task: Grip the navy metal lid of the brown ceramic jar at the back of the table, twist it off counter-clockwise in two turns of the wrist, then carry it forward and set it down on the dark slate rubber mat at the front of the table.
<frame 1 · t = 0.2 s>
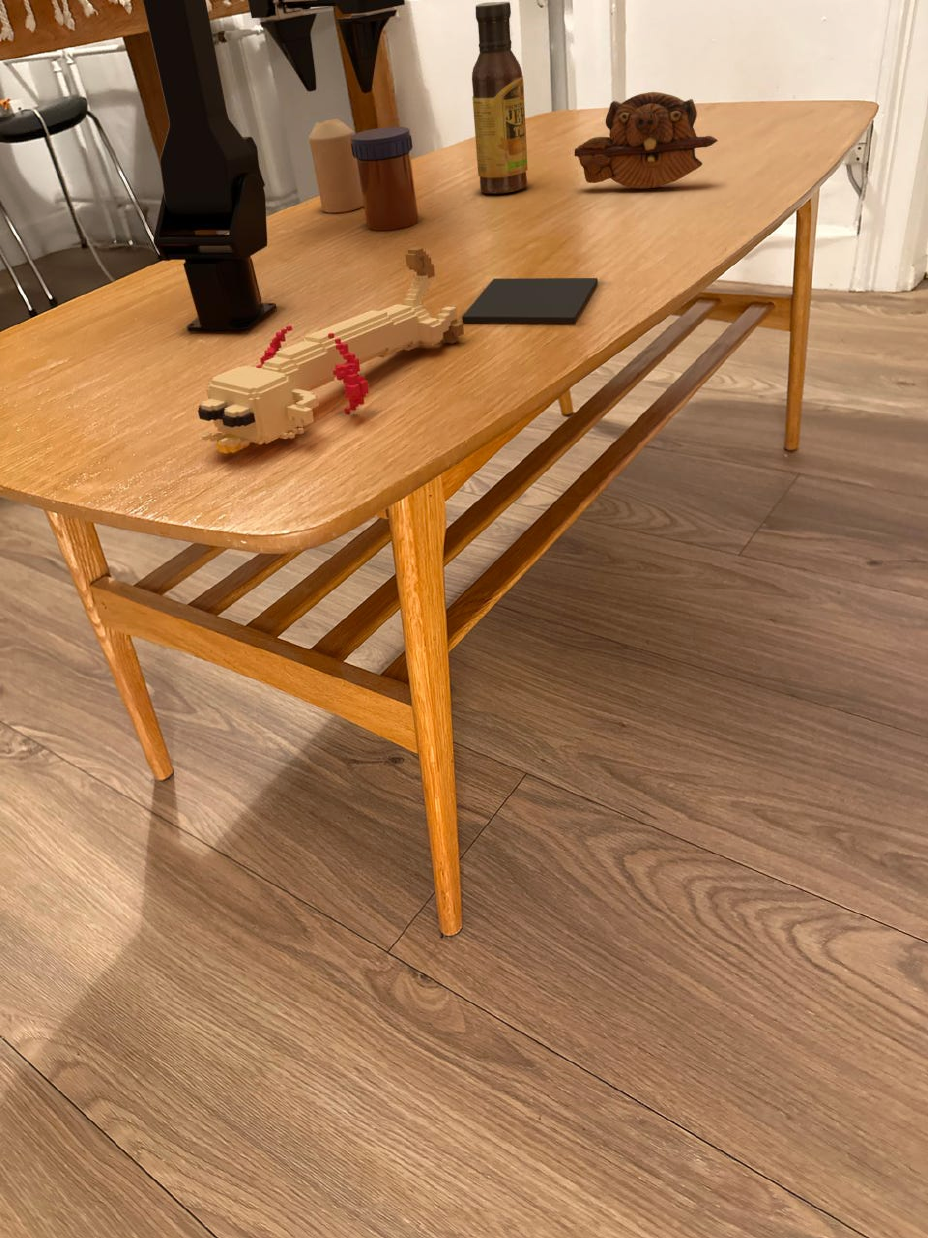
hand: (338, 91, 100), 14 cm above the table, tool pointing down, fingers open, 9 cm apart
lid: (380, 137, 104), point 9 cm above the table, screwed on, not yet turned
mat: (531, 303, 82), on the table
candle: (343, 208, 118), on the table
sauce bottle: (504, 191, 117), on the table
voxel animal figurine: (341, 396, 71), on the table
wooden carving: (644, 190, 110), on the table
jar: (392, 223, 109), on the table
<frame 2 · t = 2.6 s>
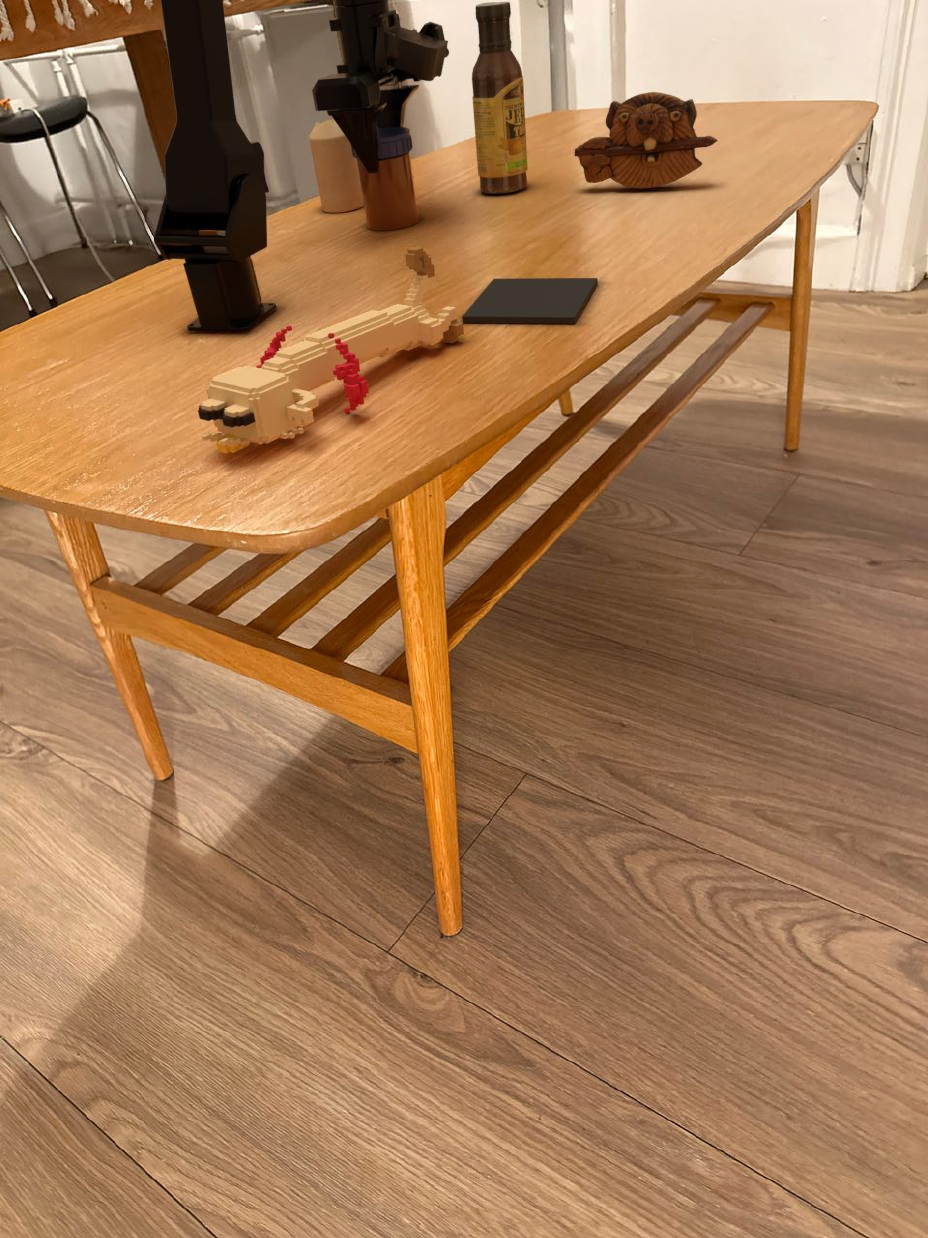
hand: (384, 165, 105), 6 cm above the table, tool pointing down, fingers closed on lid, 6 cm apart
lid: (380, 137, 104), point 9 cm above the table, screwed on, not yet turned, touching gripper
everything else where it was.
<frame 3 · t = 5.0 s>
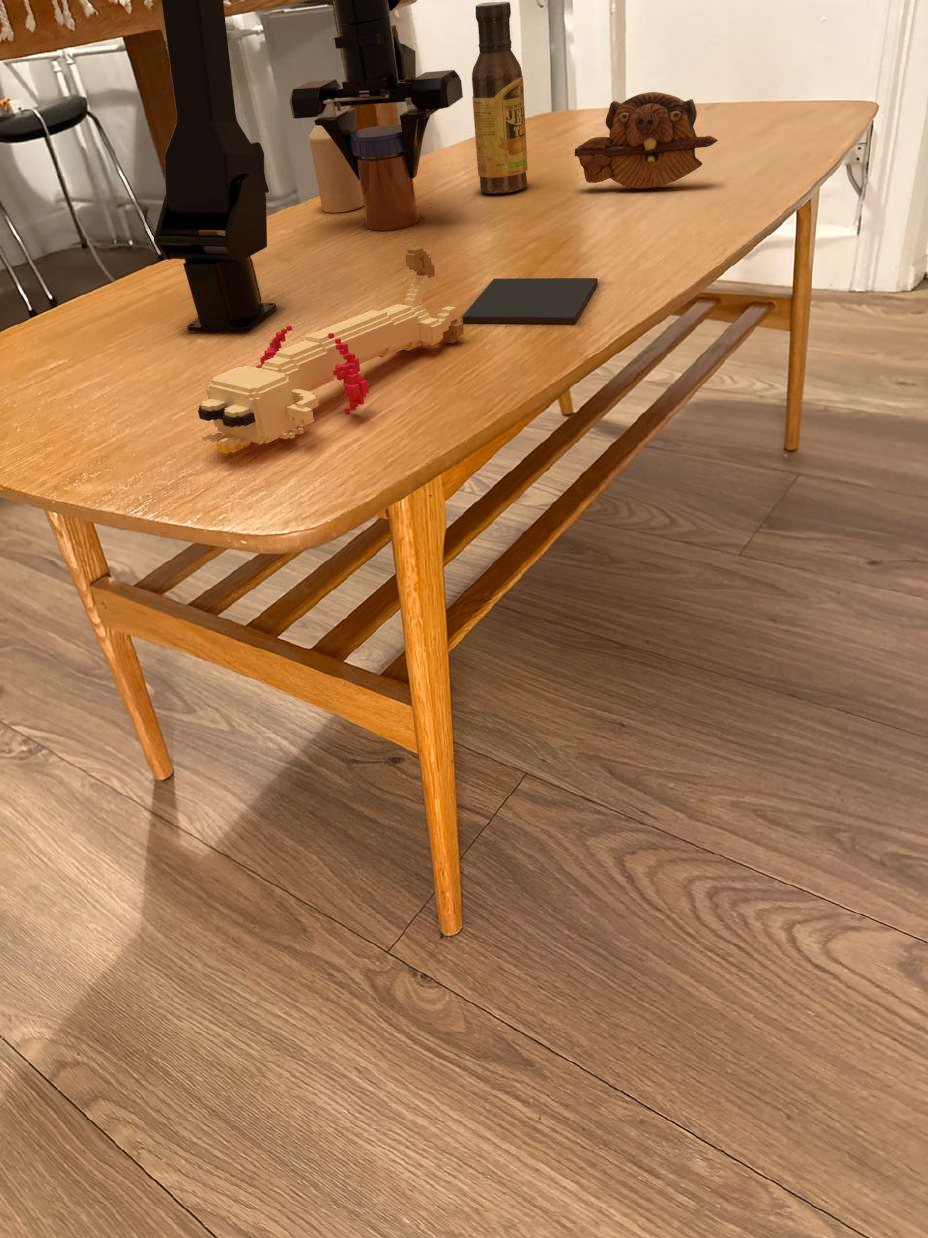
hand: (387, 178, 107), 5 cm above the table, tool pointing down, fingers closed on jar, lid, 6 cm apart
lid: (380, 135, 104), point 9 cm above the table, turned 89° so far, risen 0.2 cm, still on its thread, touching gripper
jar: (392, 223, 109), on the table, touching gripper
everything else where it was.
when the fingers open (5 cm above the table, at t = 6.6 s): jar stays where it is, on the table; lid stays where it is, point 9 cm above the table.
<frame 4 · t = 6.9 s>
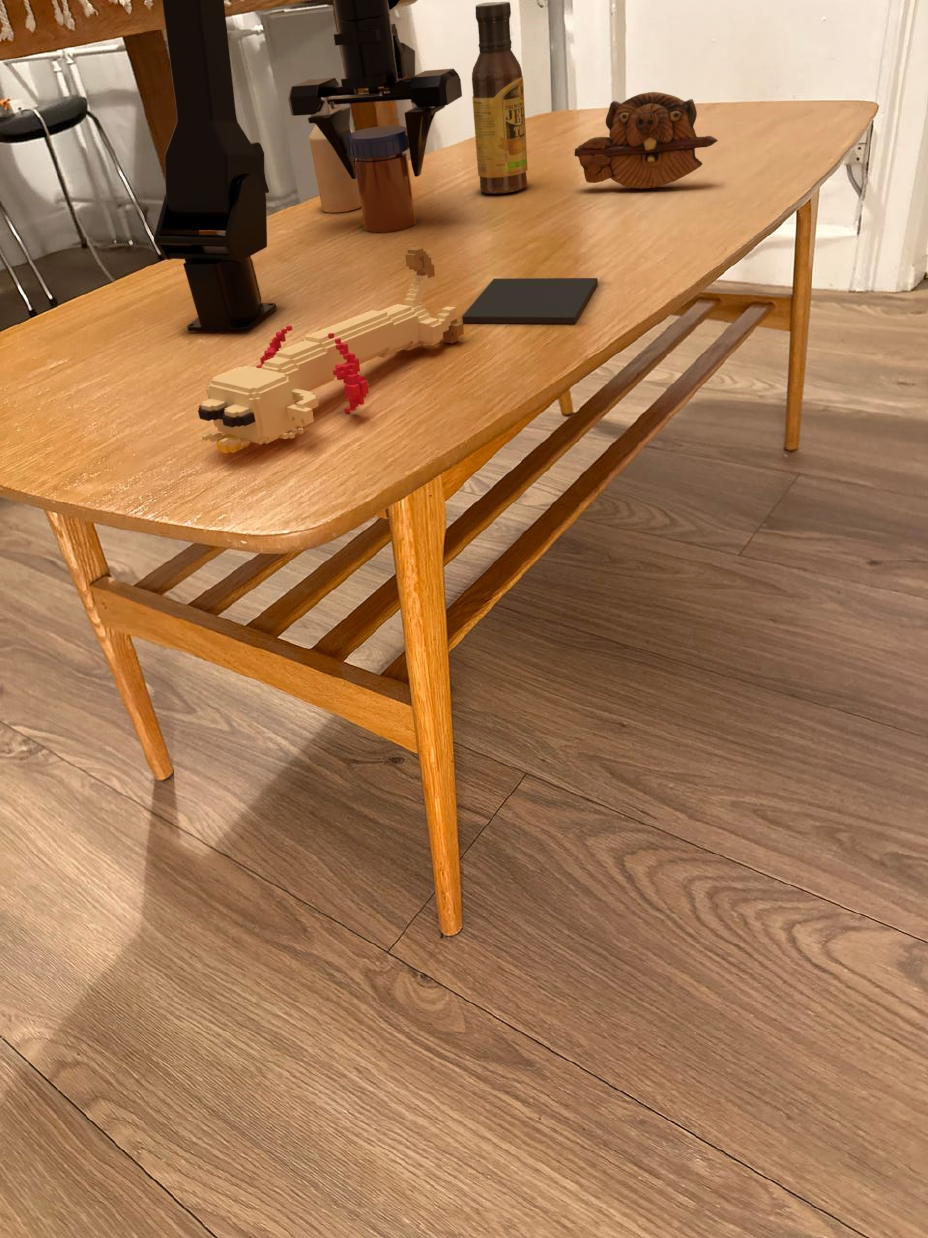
hand: (386, 176, 106), 5 cm above the table, tool pointing down, fingers open, 8 cm apart
lid: (377, 136, 103), point 9 cm above the table, turned 89° so far, risen 0.2 cm, still on its thread
jar: (390, 224, 109), on the table
everything else where it was.
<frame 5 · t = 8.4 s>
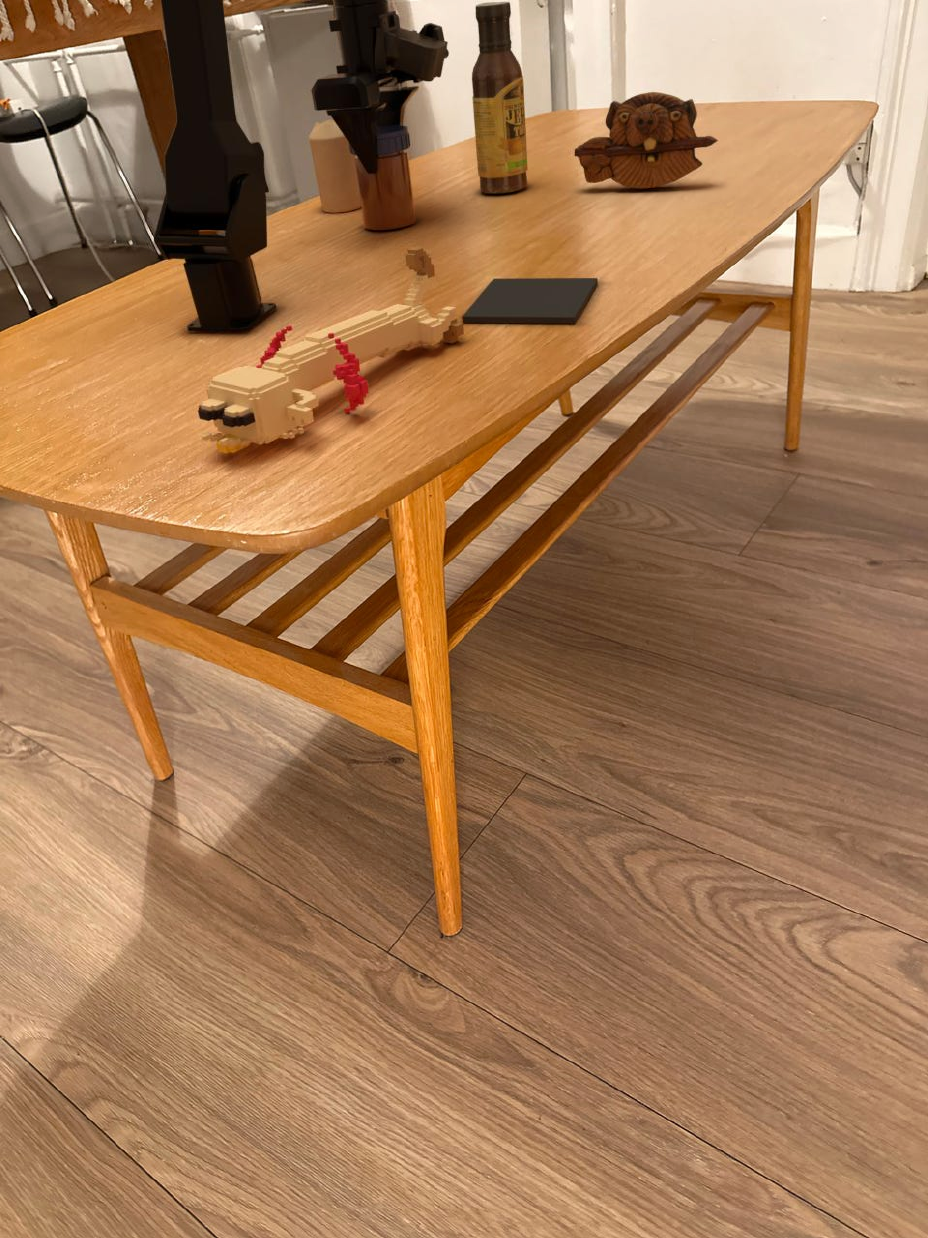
hand: (383, 166, 105), 6 cm above the table, tool pointing down, fingers closed on lid, 6 cm apart
lid: (378, 135, 103), point 10 cm above the table, turned 79° so far, risen 0.2 cm, still on its thread, touching gripper
everything else where it was.
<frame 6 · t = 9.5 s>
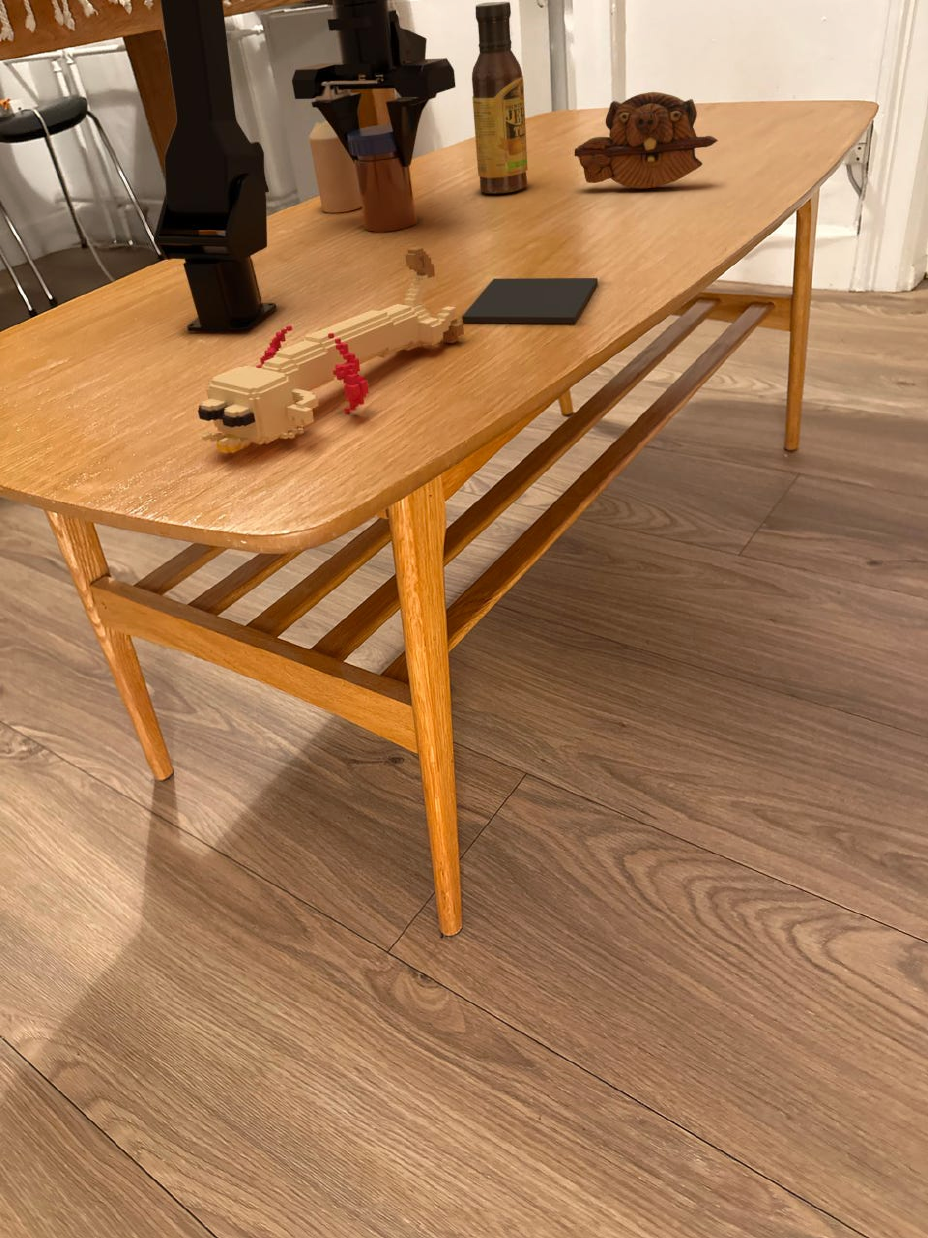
hand: (383, 165, 105), 6 cm above the table, tool pointing down, fingers closed on lid, 6 cm apart
lid: (377, 134, 103), point 10 cm above the table, off its thread, touching gripper
everything else where it was.
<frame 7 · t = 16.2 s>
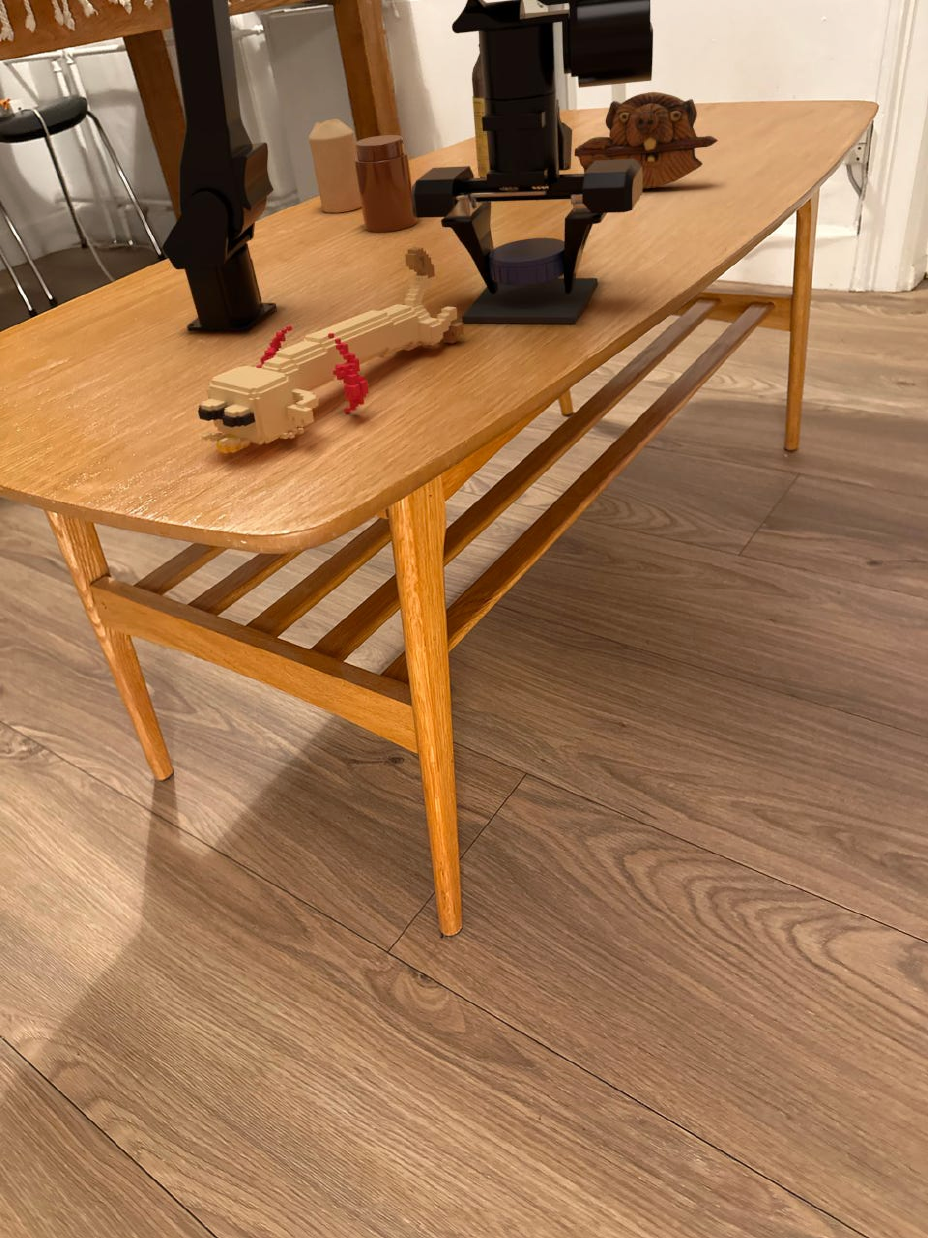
hand: (531, 292, 82), 1 cm above the table, tool pointing down, fingers closed on lid, 6 cm apart
lid: (528, 255, 80), point 4 cm above the table, off its thread, touching gripper
everything else where it was.
when the fingers open (1 cm above the table, at t = 21.2 s): lid drops 2 cm, resting on mat.
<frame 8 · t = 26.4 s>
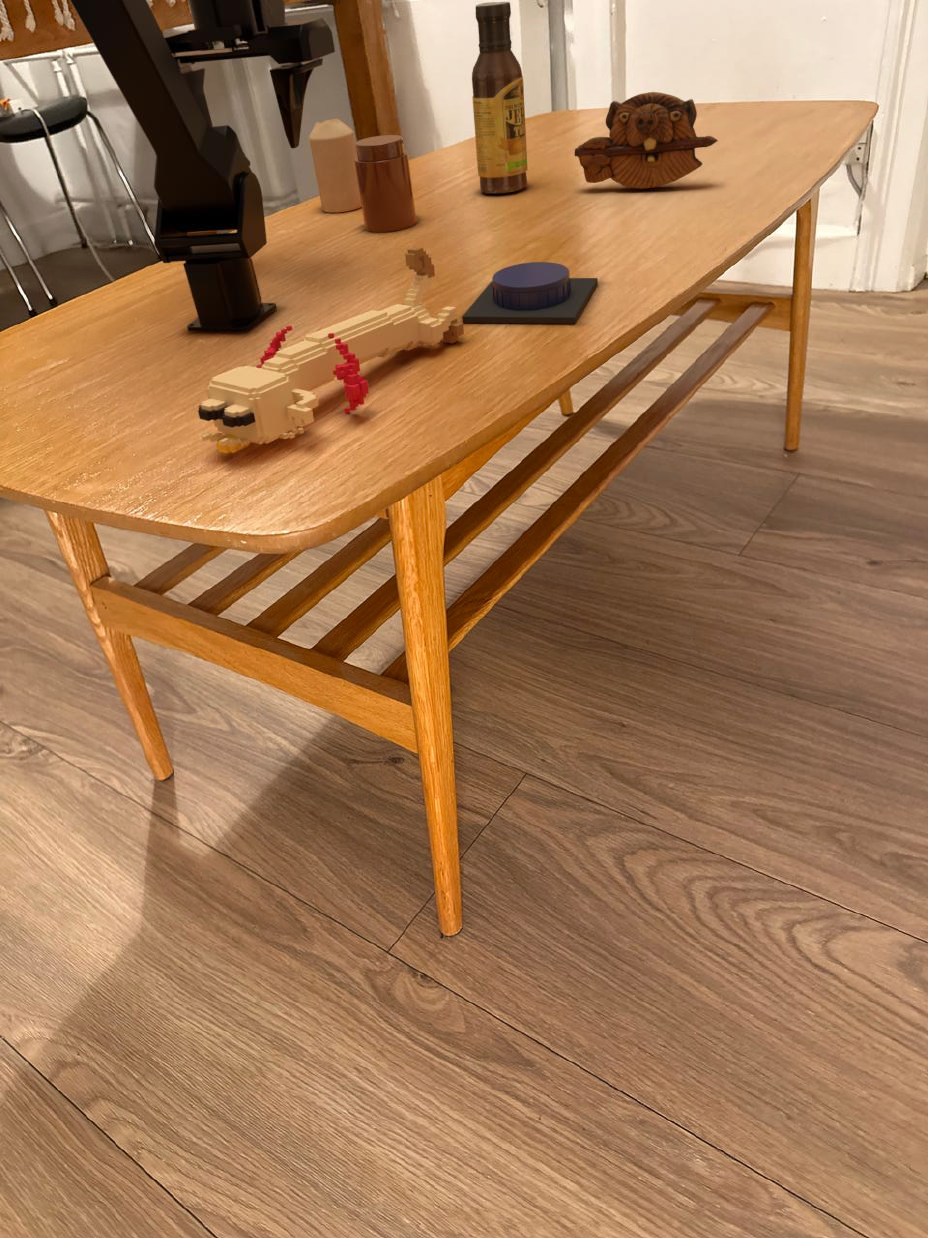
hand: (253, 149, 91), 12 cm above the table, tool pointing down, fingers open, 9 cm apart
lid: (530, 279, 81), point 2 cm above the table, off its thread, touching mat
everything else where it was.
at the end: lid came off its thread; lid inside the target area on the mat (0.1 cm from its centre), point 2.1 cm above the mat's base; the gripper is holding nothing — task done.
